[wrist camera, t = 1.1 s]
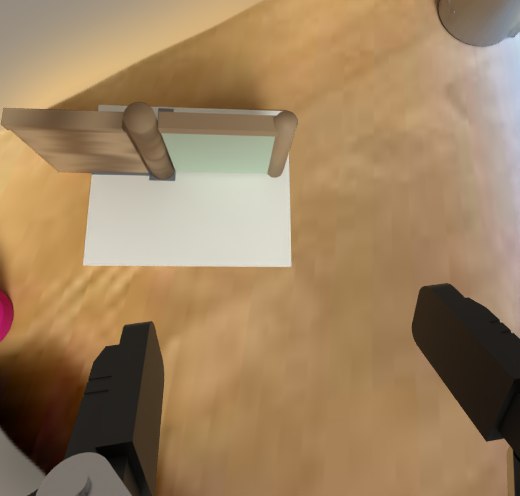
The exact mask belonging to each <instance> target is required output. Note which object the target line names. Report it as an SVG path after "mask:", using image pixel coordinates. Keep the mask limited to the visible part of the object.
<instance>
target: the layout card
mask: <svg viewBox="0 0 520 496" xmlns="http://www.w3.org/2000/svg"><path fill="white" fill-rule="evenodd" d="M127 107H128V106H122V105H98V111H113V112H123V113H124V110H125V109H126V108H127ZM150 107H151V106H150ZM151 108H152V109H153V111H154V113H155V116H156V118H157V121H158V119H159V112H185V113H215V114H245V115H274V116H277V115H278V113H280V112H282V111H267V110H238V109H209V108H180V107H151ZM83 265H90V266H233V267H291V232H290V184H289V154H288V157H287V160H286V163H285V167H284V170H283V173H282V175H281V176H279V177H276V178H273V177H270V176H269V175H268V174H255V173H212V172H176V171H175V170H174V173H173V175H172V176H171V177H170V178H168V179H164V180H161V179H157V178H156V177H154V176H153V174H152V173H151V171H150V169H149V173H135V172H92V178H91V188H90V199H89V209H88V219H87V230H86V240H85V251H84V261H83Z"/></svg>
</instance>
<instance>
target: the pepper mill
mask: <svg viewBox="0 0 520 496" xmlns="http://www.w3.org/2000/svg"><path fill="white" fill-rule="evenodd" d="M12 320H13V309H12V305H11V302H10V300H9V298H8V297H7V295H6V294H5V293H4V292H3V291H1V290H0V342H1V341H2V340H3V339H4V337H5V336H6V335H7V333H8V331H9V329H10V327H11V324H12Z"/></svg>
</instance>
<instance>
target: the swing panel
mask: <svg viewBox="0 0 520 496" xmlns="http://www.w3.org/2000/svg"><path fill="white" fill-rule="evenodd" d="M297 125H298V119H297V117H296V115H295V114H294V113H292V112H290V111H282V112H280V113H278V115H277V116H274V115H245V114H215V113H185V112H159V119H158V129H159V132H160V133H161V134H162V137H163V140H164V142H165V145H166V147H167V150H168V153H169V155H170V158H171V160H172V163H173V166H174V168H175V171H176V172H212V173H255V174H268V175H269V176H270V177H273V178H276V177H279V176H281V175H282V173H283V170H284V167H285V163H286V160H287V157H288V154H289V150H290V147H291V144H292V141H293V138H294V134H295V131H296V128H297Z"/></svg>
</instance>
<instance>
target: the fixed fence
mask: <svg viewBox="0 0 520 496" xmlns="http://www.w3.org/2000/svg"><path fill="white" fill-rule="evenodd" d="M1 125H2V126H3V127H4V128H6V129H7V130H11V131H12V132H13V133H14V134H15V135H17V136H18V137H19V138H20V139H21V140H22V141H23V142H25V143H26V144H27V145H28V146H29V147H30V148H31V149H33V150H34V151H35V152H36V153H37V154H38V155H40V156H41V157H42V158H43V159H44V160H45V161H46V162H48V163H49V164H50V165H51V166H52V167H53V168H54V169H56V170H57V171H58V172H75V173H92V172H135V173H149V169H150V171H151V173H152V174H153V176H154V177H156V178H157V179H161V180H164V179H168V178H170V177H171V176H172V175H173V173H174V170H175V168H174V166H173V163H172V160H171V158H170V155H169V153H168V150H167V147H166V145H165V142H164V140H163V137H162V134H161V133H160V132H159V129H158V121H157V118H156V116H155V113H154V111H153V109H152V108H151V107H150V106H149V105H148V104H146V103H142V102H136V103H133V104H131V105H129V106H128V107H127V108H126V109H125V110H124V113H123V112H113V111H83V110H53V109H22V108H3V114H2V120H1Z"/></svg>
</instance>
